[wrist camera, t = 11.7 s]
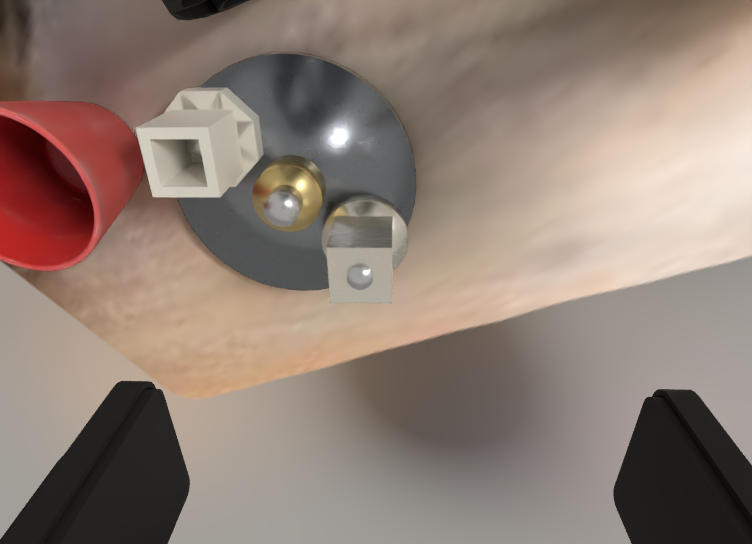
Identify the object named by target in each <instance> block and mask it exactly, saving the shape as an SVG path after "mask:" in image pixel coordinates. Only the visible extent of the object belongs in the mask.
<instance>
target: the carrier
mask: <svg viewBox="0 0 752 544" xmlns="http://www.w3.org/2000/svg"><path fill="white" fill-rule="evenodd" d="M215 87H227V88H228V89H230V90H231V91H232V92H233V93H234V94H235V95H236V96H237V97H238V98H239V99H240V100H242V101H243V102H244V103H245V104H246V105H247V106H248V107H249V108H250V109H251V110H253V111H254V112H255V113H256V114H257V115H258V116H259V122H260V130H261V138H262V145H263V153H264V155H263V156H262V157H261V158H260V159H259V161H258V162H257V163H256V164H255V165H254V166H253V167H252V169H251V170H250V171H249V172H248V173H247V174H246V175H245V177H244V178H243V179H242V180H241V181H240V182H239V184H238V185H237V186H236V187H229V188H228V189H227V191H226V192H225V193H224V194H223V195H222V196H221V197H177V198H178V201H179V204H180V206H181V208H182V210H183V213H184V215H185V217H186V219H187V220H188V222H189V224H190V226H191V227H192V229H193V230H194V232H195V233H196V234H197V236H198V237H199V238H200V240H201V241H202V242H203V243H204V244H205V245H206V246H207V247H208V249H209V250H210V251H211V252H212V253H213V254H215V255H216V256H217V257H218V258H219V259H220V260H222V261H223V262H224V263H225V264H227V265H228V266H230V267H231V268H233V269H234V270H236V271H237V272H239V273H241V274H243V275H245V276H247V277H249V278H251V279H253V280H256V281H258V282H261V283H264V284H267V285H270V286H274V287H278V288H284V289H289V290H304V291H306V290H321V289H327V288H329V293H330V303H392V271H393V270H394V269H395V268H397V267H398V266H399V264H400V263H401V262H402V260H403V258H404V256H405V254H406V251H407V246H408V236H407V226H408V223H409V221H410V218H411V215H412V211H413V207H414V202H415V193H416V172H415V164H414V158H413V153H412V149H411V145H410V142H409V139H408V136H407V134H406V132H405V130H404V127H403V125H402V123H401V121H400V119H399V118H398V116H397V115H396V113H395V112H394V110H393V108H392V107H391V106H390V104H389V103H388V102H387V101H386V100H385V98H384V97H383V96H382V95H381V94H380V93H379V92H378V91H377V90H376V89H375V88H374V87H373V86H372V85H371V84H369V83H368V82H367V81H366V80H365V79H363V78H362V77H360V76H359V75H357V74H356V73H355V72H353V71H352V70H350V69H348V68H346V67H344V66H342V65H340V64H338V63H336V62H333V61H330V60H327V59H324V58H322V57H319V56H314V55H309V54H304V53H292V52H278V53H267V54H262V55H258V56H254V57H250V58H247V59H245V60H243V61H240V62H238V63H235V64H233V65H230V66H228V67H227V68H225V69H223V70H222V71H220V72H218V73H217V74H215V75H214V76H213V77H212V78H210V79H209V80H208V81H207V82H206V83H204V84H203V85H202V86H201V87H200V88H215ZM187 150H188V152H189V153H190V154H191V155H192V156H193V157H194V158H196V159H198V160H202V155H201V150H200V144H199V139H188V140H187Z"/></svg>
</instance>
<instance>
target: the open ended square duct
mask: <svg viewBox="0 0 752 544" xmlns="http://www.w3.org/2000/svg"><path fill="white" fill-rule="evenodd" d="M136 132H137V136H138V140H139V144H140V148H141V152H142V156H143V160H144V164H145V168H146V172H147V176H148V180H149V184H150V188H151V192H152V196H153V197H221V196H222V195H223V194H224V193H225V192H226V191H227V189H228V188H229V187H236V186H237V185H238V184H239V182H240V181H241V180H242V179H243V178H244V177H245V175H246V174H247V173H248V172H249V171H250V170H251V169H252V167H253V166H254V165H255V164H256V163H257V162H258V161H259V159H260V158H261V157H262V156H263V155H264V153H263V145H262V138H261V130H260V122H259V116H258V115H257V114H256V113H255V112H254V111H253V110H251V109H250V108H249V107H248V106H247V105H246V104H245V103H244V102H243V101H242V100H240V99H239V98H238V97H237V96H236V95H235V94H234V93H233V92H232V91H231V90H230V89H228V88H227V87H215V88H186V89H184V90H182V91H179V93H178V94H177V95H176V97H175V98H174V99H173V101H172V102H171V104H170V105H169V106H168V108H167V109H166V110H165V112H164V113H163V114H162V115H160V116H158V117H156V118H154V119H152V120H150V121H148V122H146V123H144V124H142V125H140V126H138V127H136ZM188 139H199V144H200V150H201V155H202V160H198V159H196V158H194V157H193V156H192V155H191V154H190V153H189V152H188V150H187V140H188Z"/></svg>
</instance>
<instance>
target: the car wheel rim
mask: <svg viewBox="0 0 752 544" xmlns="http://www.w3.org/2000/svg"><path fill="white" fill-rule="evenodd" d="M162 1H163V3H164V4H165V6H166V8H167V9H168V11H169V12H170V14H171V15H173V16H174V17H175V18H176V19H178V20H193V19H198V18H204V17H208V16H211V15H213V14H216V13H219V12H222V11H225V10H228V9H230V8H233V7H235V6H237V5H239V4H242V3H244V2H246V1H249V0H162Z"/></svg>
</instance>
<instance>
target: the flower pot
mask: <svg viewBox="0 0 752 544" xmlns="http://www.w3.org/2000/svg"><path fill="white" fill-rule="evenodd" d="M143 171H144V162H143V156H142V152H141V148H140V145H139V142H138V140H137V138H136V137H135V135H134V133H133V132H132V131H131V129H130V128H129V127H128V126H127V125H126V124H125V123H124V122H123V121H122V120H121V119H120V118H119V117H118V116H117V115H115V114H114V113H112V112H111V111H109V110H107V109H105V108H103V107H101V106H99V105H96V104H92V103H86V102H67V101H0V260H2V261H4V262H7V263H9V264H12V265H15V266H18V267H22V268H27V269H32V270H39V271H56V270H62V269H66V268H69V267H71V266H74V265H76V264H78V263H79V262H81V261H82V260H84V259H85V258H86V257H87V256H88V255H89V254H90V253H91V252H92V250H93V249H94V248H95V247H96V245H97V244H98V243H99V241H100V240H101V239H102V237H103V236H104V234H105V233H106V231H107V230H108V229H109V227H110V226H111V225H112V223H113V222H114V220H115V219H116V218H117V216H118V215H119V214H120V212H121V211H122V209H123V208H124V206H125V205H126V203H127V202H128V200H129V199H130V197H131V196H132V194H133V193H134V191H135V190H136V188H137V187H138V185H139V183H140V181H141V179H142V176H143Z"/></svg>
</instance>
